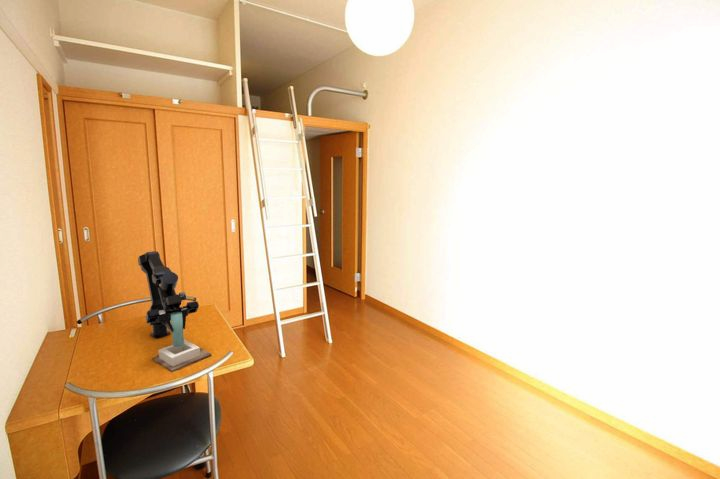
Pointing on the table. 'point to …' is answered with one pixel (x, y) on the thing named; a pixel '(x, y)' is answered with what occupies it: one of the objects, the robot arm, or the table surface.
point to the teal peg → (177, 329)
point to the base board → (202, 356)
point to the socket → (179, 353)
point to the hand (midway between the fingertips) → (178, 330)
